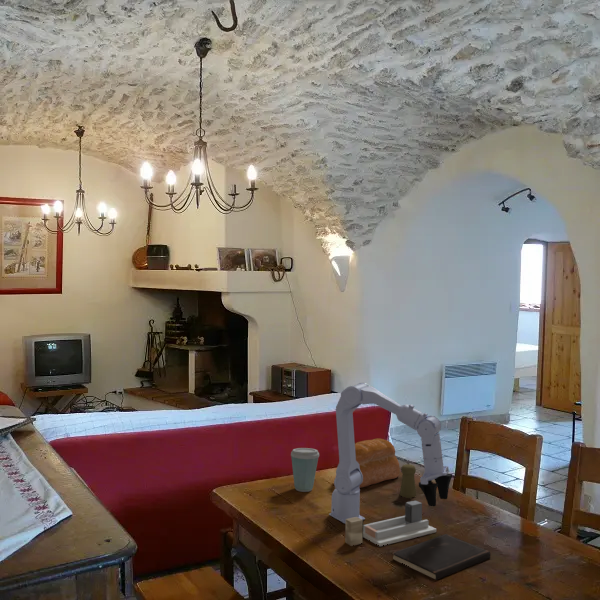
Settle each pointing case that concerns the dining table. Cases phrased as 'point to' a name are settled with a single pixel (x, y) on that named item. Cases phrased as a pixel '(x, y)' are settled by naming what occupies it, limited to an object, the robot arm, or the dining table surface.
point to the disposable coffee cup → (304, 468)
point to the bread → (376, 461)
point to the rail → (399, 526)
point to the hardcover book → (441, 556)
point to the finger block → (354, 531)
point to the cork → (408, 481)
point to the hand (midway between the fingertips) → (438, 502)
